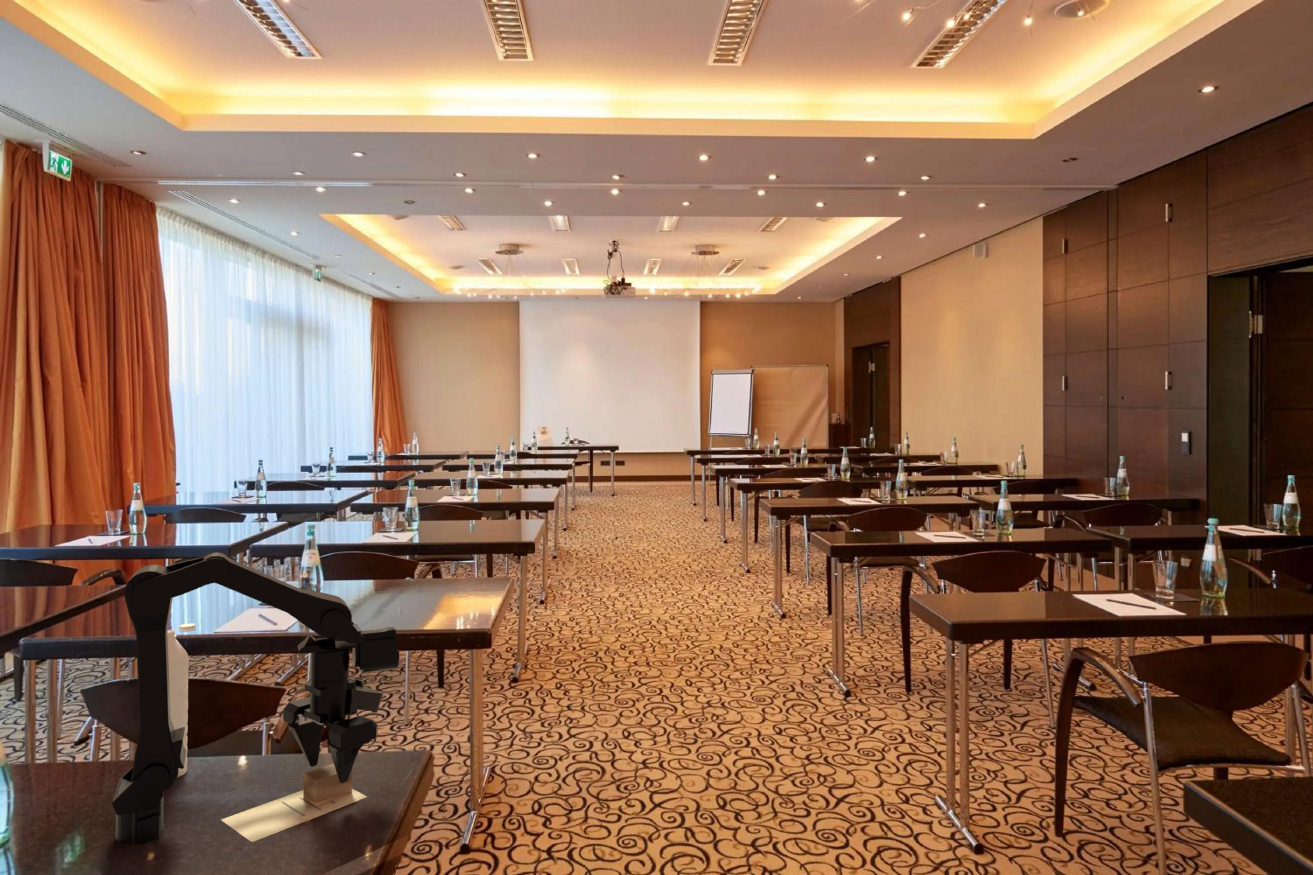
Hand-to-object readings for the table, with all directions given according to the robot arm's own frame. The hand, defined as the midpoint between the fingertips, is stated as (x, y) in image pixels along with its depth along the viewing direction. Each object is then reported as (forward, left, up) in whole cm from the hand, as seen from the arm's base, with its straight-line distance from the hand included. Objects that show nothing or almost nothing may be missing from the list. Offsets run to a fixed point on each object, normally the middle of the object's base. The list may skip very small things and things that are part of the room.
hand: (328, 773), depth 124 cm
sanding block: (0, 0, -4) cm, 4 cm away
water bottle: (-32, -11, -5) cm, 34 cm away
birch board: (0, -5, -5) cm, 7 cm away
